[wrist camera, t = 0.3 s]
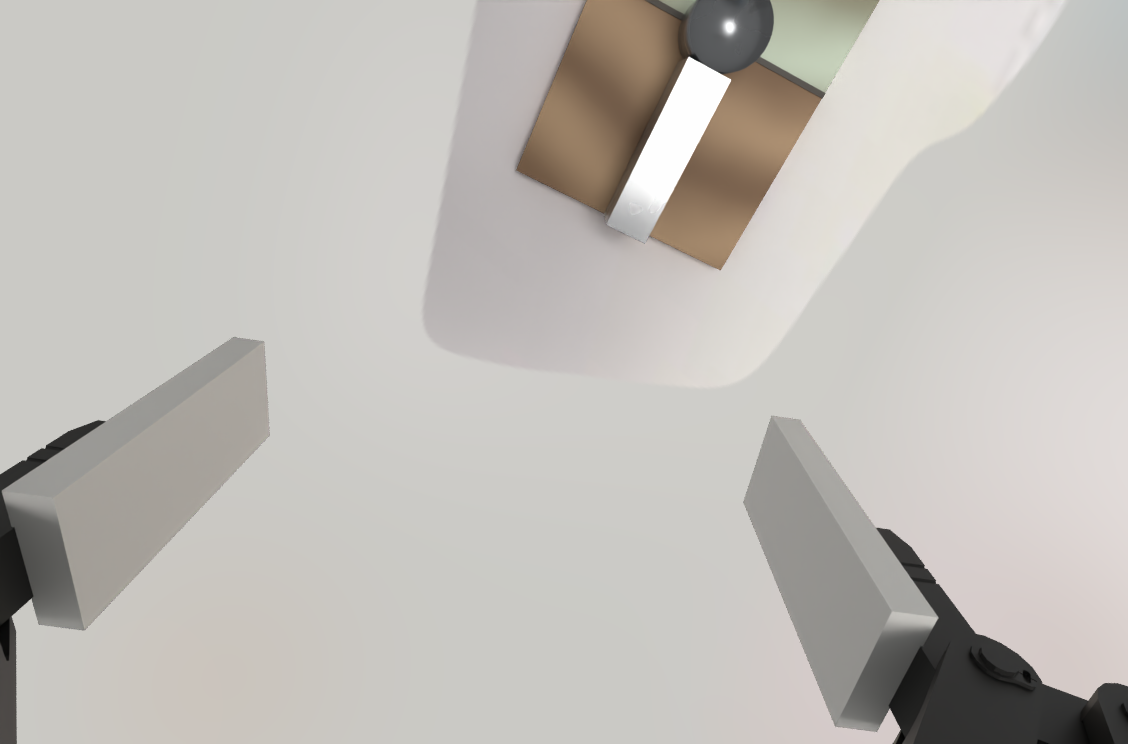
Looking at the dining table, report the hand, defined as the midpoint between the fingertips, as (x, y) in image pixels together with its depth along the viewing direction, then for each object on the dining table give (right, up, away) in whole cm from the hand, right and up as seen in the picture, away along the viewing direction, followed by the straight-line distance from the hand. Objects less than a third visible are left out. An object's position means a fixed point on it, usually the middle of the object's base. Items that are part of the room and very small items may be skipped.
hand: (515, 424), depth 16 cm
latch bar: (+7, +16, +18) cm, 25 cm away
